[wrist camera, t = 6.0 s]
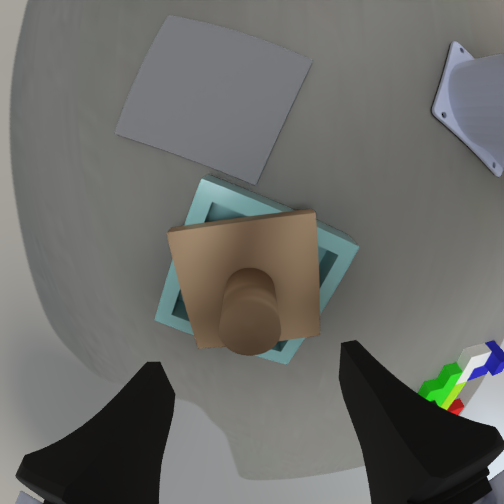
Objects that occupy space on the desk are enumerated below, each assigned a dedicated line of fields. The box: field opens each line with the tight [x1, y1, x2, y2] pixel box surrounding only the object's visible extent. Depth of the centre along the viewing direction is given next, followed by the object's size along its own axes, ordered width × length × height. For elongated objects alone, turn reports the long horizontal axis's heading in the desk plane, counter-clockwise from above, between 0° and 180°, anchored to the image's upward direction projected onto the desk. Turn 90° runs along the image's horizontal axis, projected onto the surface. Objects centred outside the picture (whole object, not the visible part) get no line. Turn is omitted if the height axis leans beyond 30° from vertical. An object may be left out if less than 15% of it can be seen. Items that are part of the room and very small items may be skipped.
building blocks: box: [418, 340, 504, 415], centre depth 24 cm, size 15×13×4 cm
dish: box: [155, 174, 359, 365], centre depth 18 cm, size 10×10×2 cm
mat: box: [114, 15, 313, 185], centre depth 15 cm, size 10×9×1 cm
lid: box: [167, 209, 320, 355], centre depth 15 cm, size 8×8×5 cm
